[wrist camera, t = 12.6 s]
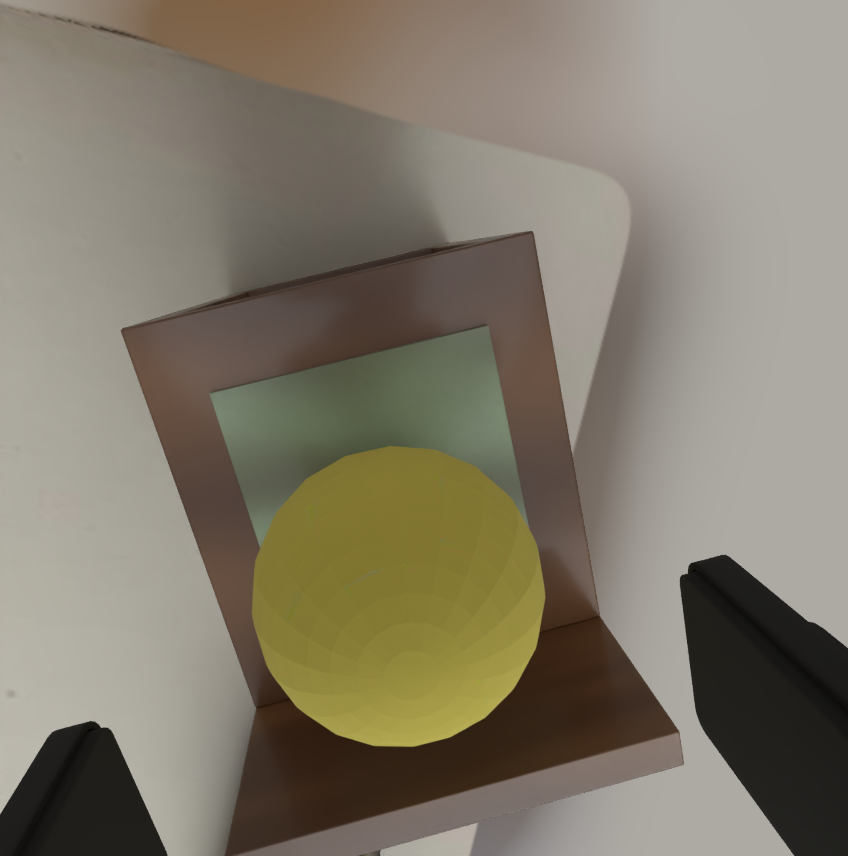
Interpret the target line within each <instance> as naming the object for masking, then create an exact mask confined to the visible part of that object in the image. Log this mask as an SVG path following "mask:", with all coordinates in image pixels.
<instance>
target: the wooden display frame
mask: <svg viewBox="0 0 848 856" xmlns="http://www.w3.org/2000/svg"><path fill="white" fill-rule="evenodd" d="M121 333H122V335H123V338H124V341H125V344H126V347H127V349H128V352H129V355H130V358H131V361H132V363H133V366H134V369H135V372H136V374H137V377H138V380H139V383H140V386H141V388H142V391H143V394H144V397H145V400H146V402H147V405H148V408H149V411H150V414H151V416H152V419H153V422H154V425H155V428H156V430H157V433H158V436H159V439H160V442H161V444H162V447H163V450H164V453H165V456H166V458H167V461H168V464H169V467H170V469H171V472H172V475H173V478H174V481H175V483H176V486H177V489H178V492H179V495H180V497H181V500H182V503H183V506H184V509H185V511H186V514H187V517H188V520H189V523H190V525H191V528H192V531H193V534H194V537H195V539H196V542H197V545H198V548H199V551H200V553H201V556H202V559H203V562H204V565H205V567H206V570H207V573H208V576H209V578H210V581H211V584H212V587H213V590H214V592H215V595H216V598H217V601H218V604H219V606H220V609H221V612H222V615H223V618H224V620H225V623H226V626H227V629H228V632H229V634H230V637H231V640H232V643H233V646H234V648H235V651H236V654H237V657H238V660H239V662H240V665H241V668H242V671H243V673H244V676H245V679H246V682H247V685H248V687H249V690H250V693H251V696H252V699H253V701H254V704H255V707H256V712H255V717H254V721H253V726H252V731H251V735H250V740H249V745H248V750H247V754H246V759H245V764H244V768H243V773H242V778H241V782H240V787H239V792H238V797H237V801H236V806H235V811H234V815H233V820H232V825H231V830H230V834H229V839H228V844H227V848H226V853H225V856H359V855H363V854H367V853H370V852H374V851H377V850H381V849H385V848H388V847H392V846H395V845H399V844H402V843H406V842H410V841H413V840H417V839H420V838H424V837H427V836H431V835H435V834H438V833H442V832H445V831H449V830H453V829H456V828H460V827H463V826H467V825H470V824H474V823H478V822H481V821H485V820H488V819H491V818H495V817H499V816H502V815H506V814H510V813H513V812H517V811H521V810H524V809H527V808H531V807H535V806H538V805H542V804H546V803H549V802H553V801H556V800H560V799H563V798H567V797H571V796H574V795H578V794H581V793H585V792H589V791H592V790H595V789H599V788H603V787H606V786H610V785H614V784H617V783H621V782H624V781H628V780H632V779H635V778H639V777H642V776H645V775H649V774H653V773H657V772H660V771H664V770H667V769H671V768H674V767H678V766H681V765H684V761H683V754H682V747H681V740H680V733H679V730H678V729H677V728H676V726H675V725H674V723H673V722H672V720H671V719H670V717H669V716H668V714H667V713H666V712H665V710H664V709H663V707H662V706H661V705H660V703H659V702H658V700H657V699H656V697H655V696H654V694H653V693H652V691H651V690H650V688H649V687H648V685H647V684H646V683H645V681H644V680H643V678H642V677H641V675H640V674H639V673H638V671H637V670H636V668H635V667H634V665H633V664H632V662H631V661H630V659H629V658H628V657H627V655H626V654H625V652H624V651H623V649H622V648H621V646H620V645H619V644H618V642H617V641H616V639H615V638H614V636H613V635H612V633H611V632H610V630H609V629H608V628H607V626H606V625H605V623H604V622H603V620H602V619H601V617H600V616H599V615H600V613H599V607H598V602H597V595H596V590H595V584H594V578H593V572H592V567H591V561H590V555H589V550H588V544H587V538H586V532H585V526H584V521H583V515H582V509H581V504H580V498H579V492H578V486H577V480H576V475H575V470H574V463H573V457H572V452H571V446H570V440H569V434H568V429H567V423H566V417H565V411H564V406H563V400H562V394H561V388H560V383H559V377H558V371H557V365H556V360H555V354H554V348H553V342H552V337H551V331H550V325H549V319H548V314H547V308H546V302H545V296H544V291H543V285H542V279H541V273H540V268H539V262H538V256H537V250H536V245H535V239H534V233H533V232H532V231H527V232H521V233H514V234H507V235H500V236H494V237H487V238H480V239H473V240H467V241H460V242H453V243H447V244H443V245H439V246H435V247H431V248H426V249H422V250H418V251H414V252H410V253H405V254H401V255H397V256H393V257H389V258H384V259H380V260H376V261H372V262H368V263H363V264H359V265H355V266H351V267H347V268H342V269H338V270H334V271H330V272H326V273H321V274H317V275H313V276H309V277H305V278H301V279H296V280H292V281H288V282H284V283H280V284H275V285H271V286H267V287H263V288H259V289H254V290H250V291H246V292H242V293H238V294H233V295H229V296H226V297H223V298H220V299H216V300H213V301H210V302H207V303H203V304H200V305H197V306H194V307H191V308H187V309H184V310H181V311H178V312H174V313H171V314H168V315H165V316H161V317H158V318H155V319H152V320H149V321H145V322H142V323H139V324H136V325H133V326H129V327H126V328H123V329H122V330H121ZM387 446H397V447H410V448H423V449H435V450H437V451H440V452H442V453H445V454H447V455H450V456H452V457H454V458H457V459H459V460H462V461H464V462H467V463H469V464H472V465H474V466H476V467H477V468H478V469H479V470H480V471H481V472H482V473H484V474H485V475H486V476H487V477H488V478H489V479H491V480H492V481H493V482H494V483H495V484H496V485H497V486H499V487H500V488H501V489H502V490H503V491H504V492H506V493H507V494H508V496H509V497H510V498H511V499H512V500H513V501H514V503H515V505H516V507H517V508H518V510H519V512H520V514H521V515H522V517H523V519H524V521H525V523H526V524H527V526H528V528H529V530H530V531H531V533H532V535H533V537H534V539H535V541H536V544H537V547H538V552H539V558H540V564H541V570H542V576H543V582H544V589H545V602H544V608H543V614H542V620H541V625H540V631H539V637H538V641H537V646H536V649H535V651H534V653H533V655H532V657H531V658H530V660H529V662H528V664H527V666H526V668H525V670H524V671H523V673H522V675H521V677H520V679H519V681H518V683H517V684H516V686H515V687H514V689H513V690H512V691H511V692H510V693H509V694H508V695H507V696H506V697H505V698H504V699H503V700H502V701H501V702H500V703H499V704H498V705H497V706H496V707H495V708H494V709H493V710H492V711H491V712H490V713H489V714H488V715H487V716H486V717H485V718H484V719H482V720H480V721H478V722H477V723H475V724H473V725H471V726H469V727H468V728H466V729H464V730H462V731H461V732H459V733H457V734H455V735H453V736H452V737H449V738H446V739H442V740H438V741H434V742H430V743H426V744H422V745H418V746H414V747H406V746H372V745H369V744H366V743H362V742H359V741H356V740H352V739H349V738H346V737H343V736H339V735H336V734H335V733H333V732H332V731H330V730H329V729H327V728H326V727H324V726H323V725H321V724H320V723H318V722H317V721H315V720H314V719H312V718H311V717H309V716H308V715H306V714H305V713H304V712H302V711H301V710H300V709H299V708H297V707H296V706H295V704H294V703H293V702H292V700H291V699H290V698H289V696H288V695H287V694H286V693H285V691H284V690H283V689H282V687H281V686H280V685H279V683H278V682H277V681H276V679H275V678H274V677H273V675H272V674H271V672H270V670H269V669H268V667H267V665H266V662H265V659H264V656H263V652H262V649H261V646H260V643H259V640H258V636H257V633H256V630H255V627H254V623H253V617H252V600H253V581H254V568H255V560H256V558H257V555H258V553H259V550H260V548H261V546H262V543H263V541H264V539H265V536H266V534H267V532H268V529H269V527H270V525H271V522H272V520H273V518H274V516H275V514H276V512H277V511H278V510H279V509H280V507H281V506H282V505H283V504H284V503H285V502H286V501H287V500H288V499H289V497H290V496H291V495H292V494H293V493H294V492H295V491H296V490H297V489H298V487H299V486H300V485H301V484H302V483H303V482H304V481H305V480H306V479H307V478H308V477H310V476H312V475H314V474H315V473H317V472H319V471H320V470H322V469H324V468H326V467H327V466H329V465H331V464H333V463H334V462H336V461H338V460H339V459H341V458H343V457H345V456H348V455H352V454H357V453H361V452H365V451H370V450H374V449H379V448H383V447H387Z"/></svg>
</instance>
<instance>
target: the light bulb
mask: <svg viewBox="0 0 848 856" xmlns="http://www.w3.org/2000/svg"><path fill="white" fill-rule="evenodd" d="M544 602H545V589H544V582H543V576H542V570H541V564H540V558H539V552H538V547H537V544H536V541H535V539H534V537H533V535H532V533H531V531H530V530H529V528H528V526H527V524H526V523H525V521H524V519H523V517H522V515H521V514H520V512H519V510H518V508H517V507H516V505H515V503H514V501H513V500H512V499H511V498H510V497H509V496H508V494H507V493H506V492H504V491H503V490H502V489H501V488H500V487H499V486H497V485H496V484H495V483H494V482H493V481H492V480H491V479H489V478H488V477H487V476H486V475H485V474H484V473H482V472H481V471H480V470H479V469H478V468H477V467H476V466H474V465H472V464H469V463H467V462H464V461H462V460H459V459H457V458H454V457H452V456H450V455H447V454H445V453H442V452H440V451H437V450H435V449H423V448H410V447H397V446H387V447H383V448H379V449H374V450H370V451H365V452H361V453H357V454H352V455H348V456H345V457H343V458H341V459H339V460H338V461H336V462H334V463H333V464H331V465H329V466H327V467H326V468H324V469H322V470H320V471H319V472H317V473H315V474H314V475H312V476H310V477H308V478H307V479H306V480H305V481H304V482H303V483H302V484H301V485H300V486H299V487H298V489H297V490H296V491H295V492H294V493H293V494H292V495H291V496H290V497H289V499H288V500H287V501H286V502H285V503H284V504H283V505H282V506H281V507H280V509H279V510H278V511H277V512H276V514H275V516H274V518H273V520H272V522H271V525H270V527H269V529H268V532H267V534H266V536H265V539H264V541H263V543H262V546H261V548H260V550H259V553H258V555H257V558H256V560H255V568H254V581H253V600H252V617H253V623H254V627H255V630H256V633H257V636H258V640H259V643H260V646H261V649H262V652H263V656H264V659H265V662H266V665H267V667H268V669H269V670H270V672H271V674H272V675H273V677H274V678H275V679H276V681H277V682H278V683H279V685H280V686H281V687H282V689H283V690H284V691H285V693H286V694H287V695H288V696H289V698H290V699H291V700H292V702H293V703H294V704H295V706H296V707H297V708H299V709H300V710H301V711H302V712H304V713H305V714H306V715H308V716H309V717H311V718H312V719H314V720H315V721H317V722H318V723H320V724H321V725H323V726H324V727H326V728H327V729H329V730H330V731H332V732H333V733H335V734H336V735H339V736H343V737H346V738H349V739H352V740H356V741H359V742H362V743H366V744H369V745H372V746H406V747H414V746H418V745H422V744H426V743H430V742H434V741H438V740H442V739H446V738H449V737H452V736H453V735H455V734H457V733H459V732H461V731H462V730H464V729H466V728H468V727H469V726H471V725H473V724H475V723H477V722H478V721H480V720H482V719H484V718H485V717H486V716H487V715H488V714H489V713H490V712H491V711H492V710H493V709H494V708H495V707H496V706H497V705H498V704H499V703H500V702H501V701H502V700H503V699H504V698H505V697H506V696H507V695H508V694H509V693H510V692H511V691H512V690H513V689H514V687H515V686H516V684H517V683H518V681H519V679H520V677H521V675H522V673H523V671H524V670H525V668H526V666H527V664H528V662H529V660H530V658H531V657H532V655H533V653H534V651H535V649H536V646H537V641H538V637H539V631H540V625H541V620H542V614H543V608H544Z"/></svg>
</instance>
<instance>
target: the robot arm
mask: <svg viewBox="0 0 848 856" xmlns="http://www.w3.org/2000/svg"><path fill="white" fill-rule="evenodd" d="M680 588H681V597H682V605H683V613H684V621H685V629H686V636H687V644H688V653H689V661H690V669H691V677H692V685H693V693H694V701H695V708H696V713H697V716H698V719H699V722H700V724H701V726H702V728H703V730H704V732H705V733H706V735H707V736H708V737H709V739H710V740H711V741H712V743H713V744H714V746H715V747H716V748H717V750H718V751H719V753H720V754H721V755H722V757H723V758H724V759H725V761H726V762H727V763H728V765H729V766H730V768H731V769H732V770H733V772H734V773H735V775H736V776H737V777H738V779H739V780H740V782H741V783H742V784H743V786H744V787H745V788H746V790H747V791H748V793H749V794H750V795H751V797H752V798H753V799H754V801H755V802H756V804H757V805H758V806H759V808H760V809H761V810H762V812H763V813H764V815H765V816H766V817H767V819H768V820H769V821H770V823H771V824H772V826H773V827H774V828H775V830H776V831H777V833H778V834H779V835H780V837H781V838H782V839H783V841H784V842H785V843H786V845H787V846H788V848H789V849H790V850H791V852H792V853H793V855H794V856H848V648H847V647H846V646H844V645H843V644H842V643H841V642H839V641H838V640H837V639H836V638H834V637H833V636H832V635H831V634H830V633H828V632H827V631H826V630H825V629H823V628H822V627H820V626H819V625H817V624H815V623H812V622H808V621H807V620H805V619H804V618H803V617H802V616H801V615H799V614H798V613H797V612H796V611H794V610H793V609H792V608H791V607H790V606H788V605H787V604H786V603H785V602H784V601H782V600H781V599H780V598H779V597H778V596H776V595H775V594H774V593H773V592H771V591H770V590H769V589H768V588H767V587H765V586H764V585H763V584H762V583H761V582H759V581H758V580H757V579H756V578H754V577H753V576H752V575H751V574H750V573H748V572H747V571H746V570H745V569H744V568H742V567H741V566H740V565H739V564H738V563H736V562H735V561H734V560H732V559H731V558H730V557H728V556H727V555H720V556H717V557H713V558H709V559H705V560H701V561H698V562H694V563H691V564H690V565H689V568H688V574H685V575H682V576H681V577H680ZM0 856H167V853H166V850H165V848H164V846H163V843H162V841H161V839H160V837H159V835H158V832H157V830H156V828H155V826H154V823H153V821H152V819H151V817H150V815H149V812H148V810H147V808H146V806H145V803H144V801H143V799H142V797H141V795H140V792H139V790H138V788H137V786H136V784H135V781H134V779H133V777H132V775H131V772H130V770H129V768H128V766H127V764H126V761H125V759H124V757H123V755H122V752H121V750H120V748H119V746H118V744H117V741H116V739H115V737H114V735H113V733H112V731H111V730H110V729H109V728H105V727H104V728H101V727H100V726H99V725H98V724H97V723H96V722H93V721H89V722H86V723H82V724H78V725H74V726H70V727H67V728H63V729H59V730H56V731H54V732H52V733H51V734H50V735H49V737H48V738H47V740H46V741H45V743H44V744H43V746H42V748H41V749H40V751H39V752H38V754H37V756H36V757H35V759H34V761H33V762H32V764H31V765H30V767H29V769H28V770H27V772H26V774H25V775H24V777H23V778H22V780H21V782H20V783H19V785H18V787H17V788H16V790H15V791H14V793H13V795H12V796H11V798H10V799H9V801H8V803H7V804H6V806H5V808H4V809H3V811H2V812H1V814H0Z"/></svg>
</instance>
